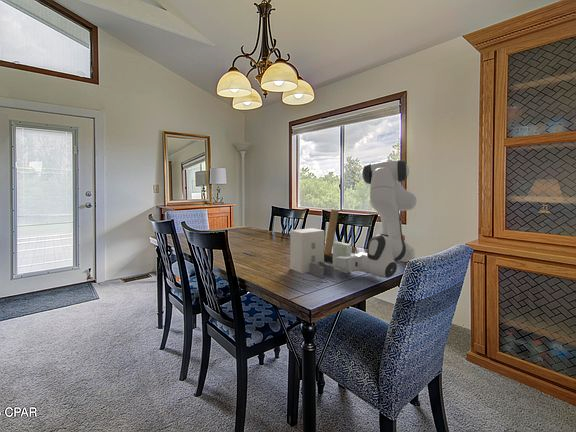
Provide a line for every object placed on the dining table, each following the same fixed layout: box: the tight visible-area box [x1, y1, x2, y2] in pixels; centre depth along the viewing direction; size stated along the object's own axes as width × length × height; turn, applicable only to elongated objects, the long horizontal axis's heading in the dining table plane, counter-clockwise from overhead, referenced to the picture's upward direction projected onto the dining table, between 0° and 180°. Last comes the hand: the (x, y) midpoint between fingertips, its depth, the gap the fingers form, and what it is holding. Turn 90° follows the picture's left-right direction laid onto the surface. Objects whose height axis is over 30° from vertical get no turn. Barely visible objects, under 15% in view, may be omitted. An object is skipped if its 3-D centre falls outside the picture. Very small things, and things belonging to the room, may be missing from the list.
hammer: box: [324, 209, 340, 264], centre depth 174 cm, size 20×5×30 cm, turn 46°
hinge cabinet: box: [289, 227, 334, 279], centre depth 154 cm, size 22×14×20 cm, turn 33°
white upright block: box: [332, 241, 352, 274], centre depth 156 cm, size 10×4×14 cm, turn 33°
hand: (343, 256), depth 155 cm, fingers open, 8 cm apart
